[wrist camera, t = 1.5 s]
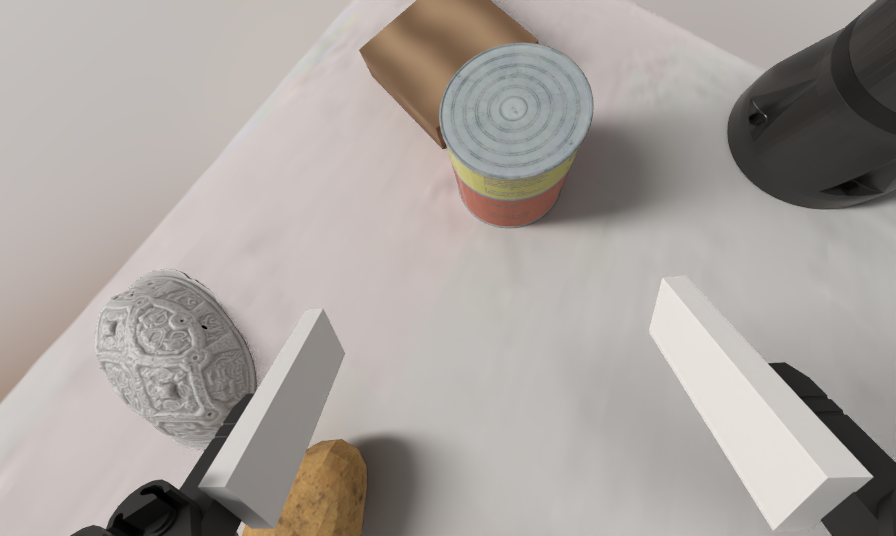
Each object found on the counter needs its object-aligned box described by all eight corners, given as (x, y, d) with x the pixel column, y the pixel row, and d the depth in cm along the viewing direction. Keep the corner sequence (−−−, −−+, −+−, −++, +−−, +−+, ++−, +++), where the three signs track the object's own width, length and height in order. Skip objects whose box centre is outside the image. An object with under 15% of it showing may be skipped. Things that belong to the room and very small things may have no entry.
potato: (410, 462, 32) (381, 504, 25) (329, 589, 32) (273, 675, 24) (336, 401, 35) (289, 423, 27) (259, 519, 34) (187, 577, 26)
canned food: (578, 151, 35) (618, 65, 24) (536, 244, 34) (555, 201, 23) (483, 119, 38) (476, 26, 26) (441, 205, 37) (414, 148, 25)
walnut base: (456, 3, 41) (452, -31, 37) (534, 69, 38) (538, 40, 34) (372, 76, 41) (359, 49, 37) (442, 148, 38) (435, 128, 34)
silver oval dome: (161, 240, 41) (95, 232, 35) (298, 372, 37) (253, 390, 30) (94, 336, 42) (18, 345, 36) (220, 475, 38) (160, 515, 31)
